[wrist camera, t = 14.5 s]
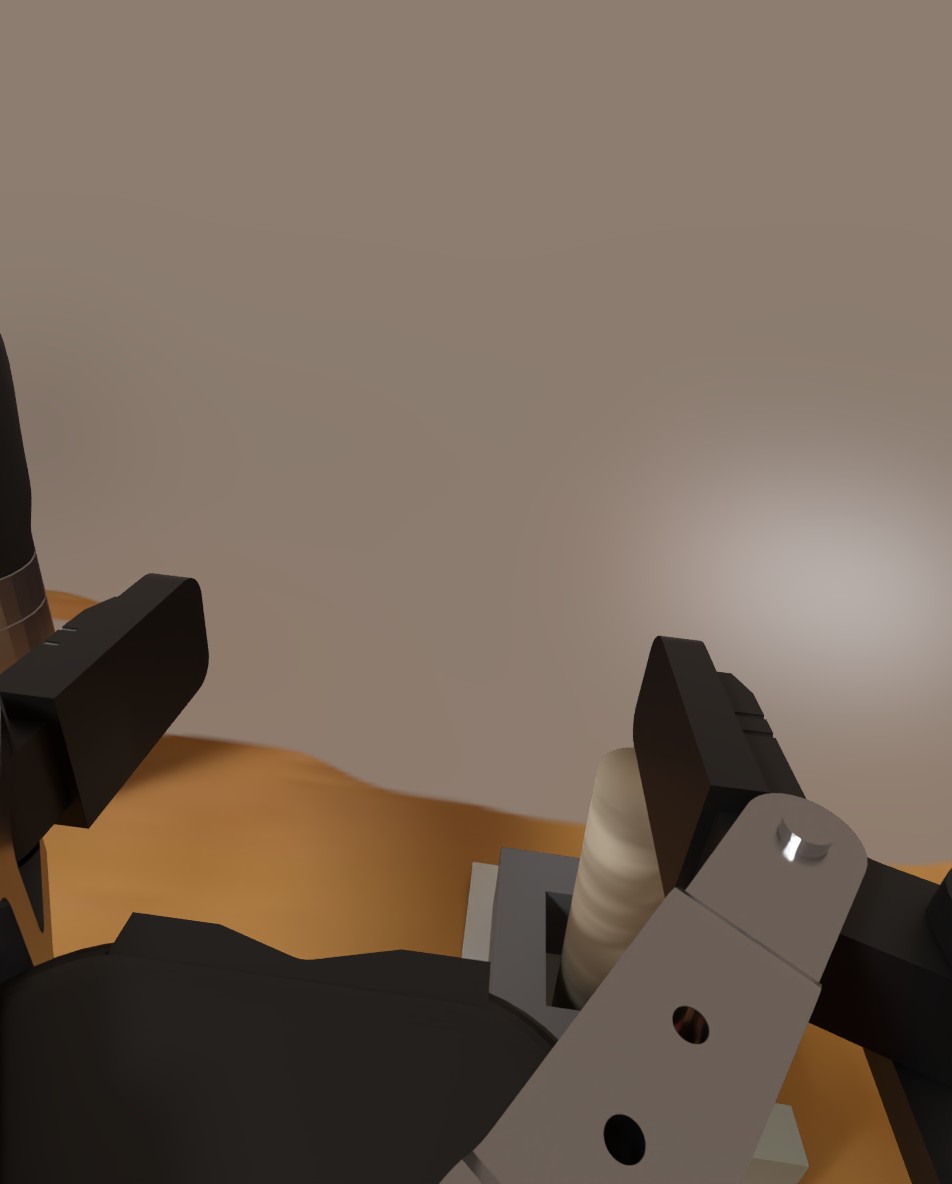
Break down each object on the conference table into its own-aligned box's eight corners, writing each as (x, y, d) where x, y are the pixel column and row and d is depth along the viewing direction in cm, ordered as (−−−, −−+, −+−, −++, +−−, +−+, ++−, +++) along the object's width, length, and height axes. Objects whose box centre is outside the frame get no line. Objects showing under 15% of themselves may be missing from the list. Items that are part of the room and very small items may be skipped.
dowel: (552, 1051, 32) (601, 810, 25) (550, 973, 35) (593, 743, 28) (633, 1061, 31) (707, 822, 24) (623, 981, 35) (684, 752, 28)
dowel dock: (434, 1181, 28) (443, 1108, 25) (471, 872, 42) (480, 804, 39) (763, 1236, 27) (809, 1166, 24) (686, 903, 41) (710, 836, 38)
